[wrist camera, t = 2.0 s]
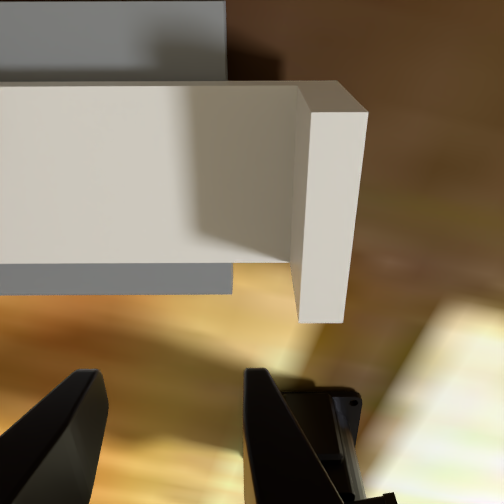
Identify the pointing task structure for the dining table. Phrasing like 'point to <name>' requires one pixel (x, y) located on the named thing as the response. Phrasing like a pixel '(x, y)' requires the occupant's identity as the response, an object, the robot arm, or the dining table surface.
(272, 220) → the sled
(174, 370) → the dining table surface
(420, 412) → the dining table surface
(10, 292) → the grey piece
